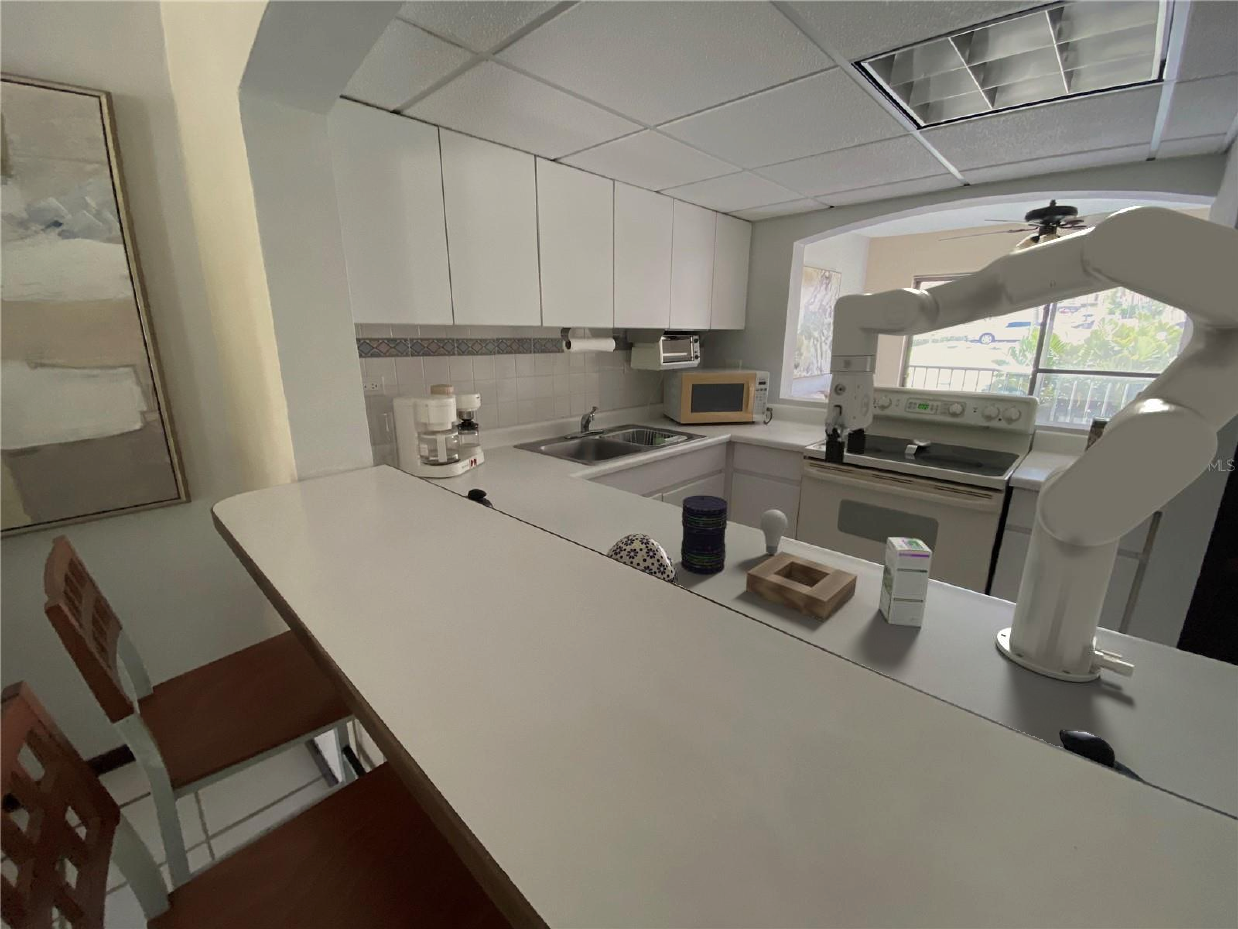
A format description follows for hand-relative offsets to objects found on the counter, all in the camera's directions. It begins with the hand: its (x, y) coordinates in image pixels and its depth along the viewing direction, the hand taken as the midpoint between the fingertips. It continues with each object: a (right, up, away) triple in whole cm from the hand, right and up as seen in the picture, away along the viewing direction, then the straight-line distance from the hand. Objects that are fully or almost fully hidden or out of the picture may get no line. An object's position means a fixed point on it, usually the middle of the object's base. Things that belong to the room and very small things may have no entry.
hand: (845, 457), depth 93 cm
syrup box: (+8, -29, -4) cm, 31 cm away
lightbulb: (-7, -23, +22) cm, 33 cm away
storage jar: (-24, -24, +17) cm, 38 cm away
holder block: (-7, -27, +5) cm, 28 cm away
